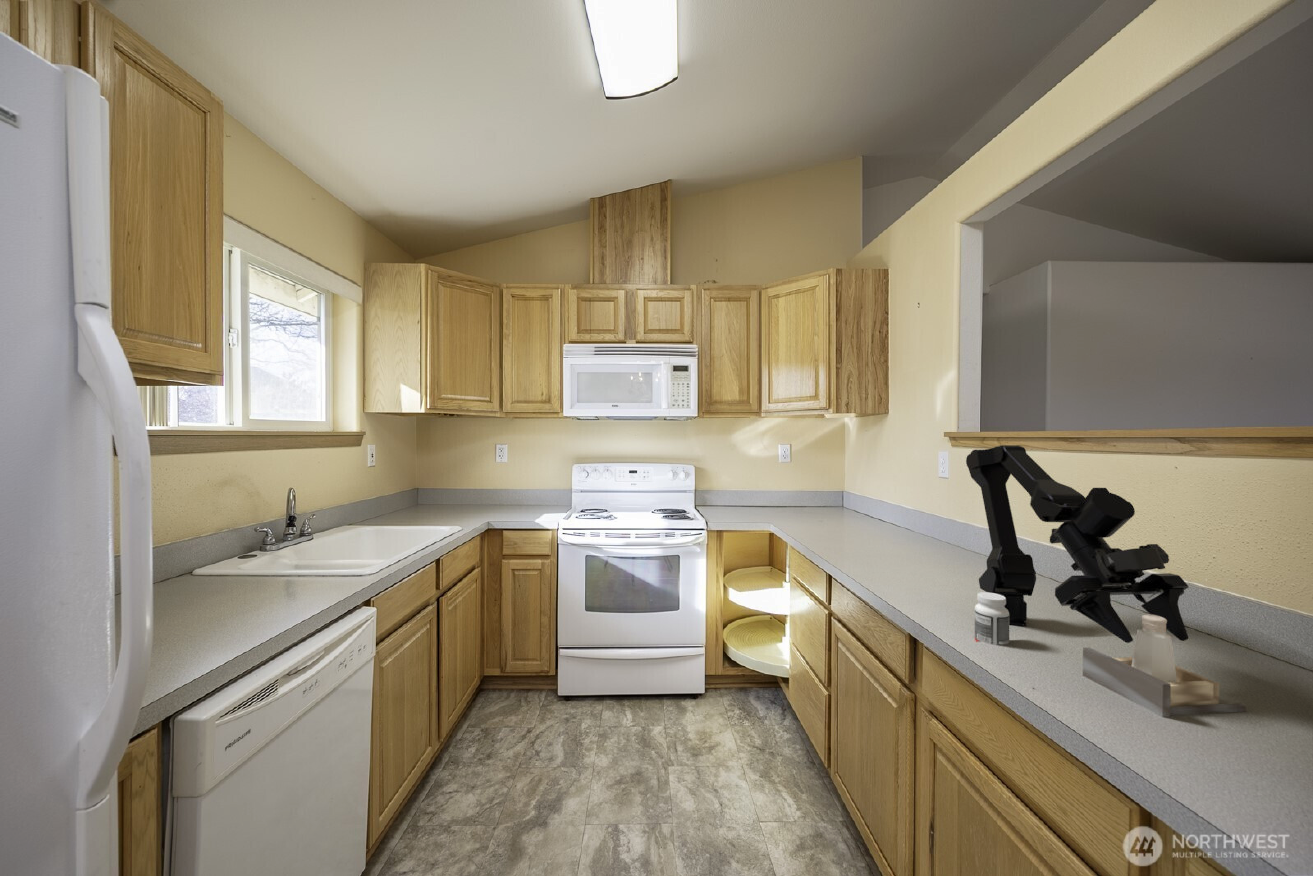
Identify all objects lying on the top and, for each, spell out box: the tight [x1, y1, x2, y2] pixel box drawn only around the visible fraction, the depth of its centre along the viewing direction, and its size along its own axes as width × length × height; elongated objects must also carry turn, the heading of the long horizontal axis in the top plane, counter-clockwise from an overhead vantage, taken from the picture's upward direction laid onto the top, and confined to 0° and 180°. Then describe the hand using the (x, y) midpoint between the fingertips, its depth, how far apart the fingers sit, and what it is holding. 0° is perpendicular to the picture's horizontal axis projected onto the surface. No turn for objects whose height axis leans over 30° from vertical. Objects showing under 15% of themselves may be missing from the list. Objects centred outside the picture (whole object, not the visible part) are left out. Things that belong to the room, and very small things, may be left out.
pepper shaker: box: [1132, 613, 1177, 683], centre depth 77 cm, size 5×5×11 cm
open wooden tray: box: [1082, 646, 1247, 718], centre depth 79 cm, size 16×16×6 cm
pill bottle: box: [974, 591, 1010, 646], centre depth 97 cm, size 6×6×10 cm
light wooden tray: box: [1113, 656, 1220, 707], centre depth 77 cm, size 9×9×4 cm
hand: (1157, 641), depth 75 cm, fingers open, 9 cm apart
